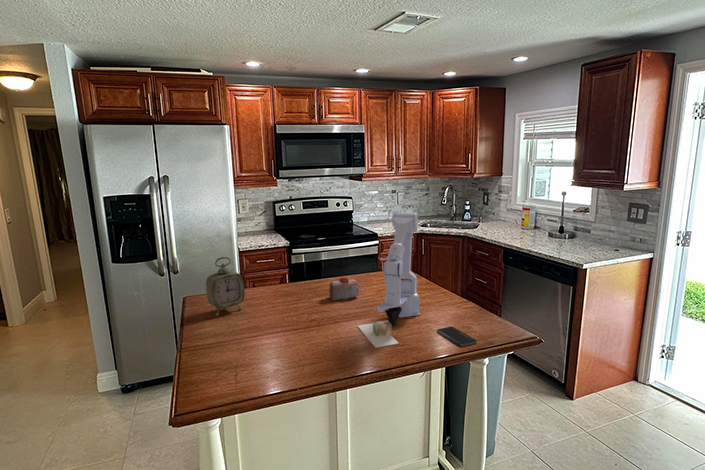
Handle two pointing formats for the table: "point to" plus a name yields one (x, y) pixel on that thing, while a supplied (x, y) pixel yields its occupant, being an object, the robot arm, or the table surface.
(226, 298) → the tabletop clock
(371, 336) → the mat
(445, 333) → the phone
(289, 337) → the table surface
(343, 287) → the grey carrying case
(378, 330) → the tan and green sponge
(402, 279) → the robot arm
